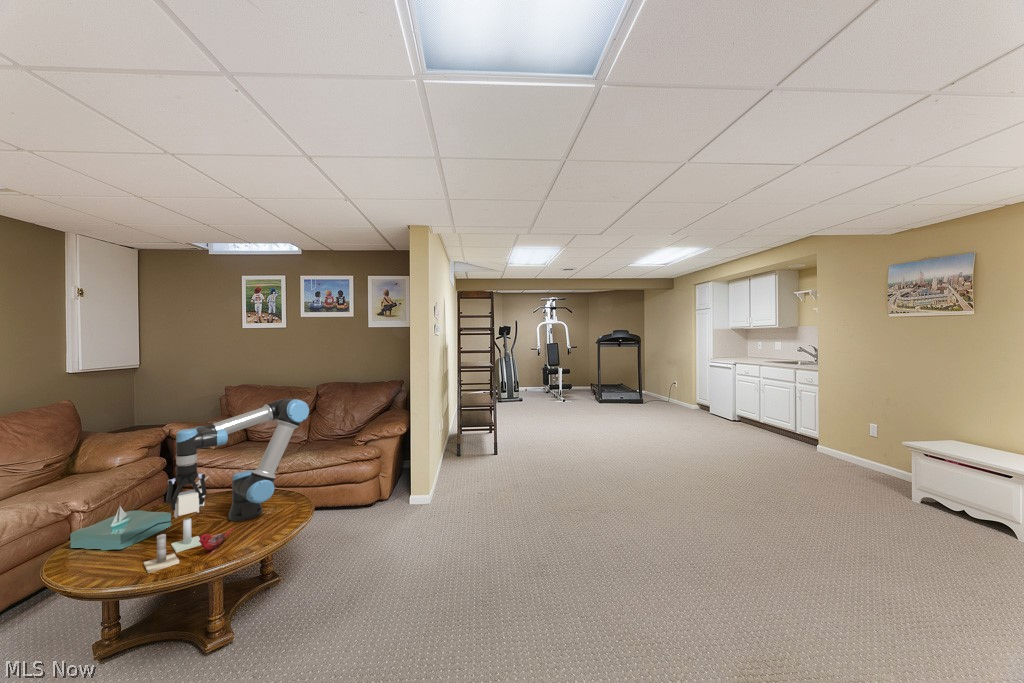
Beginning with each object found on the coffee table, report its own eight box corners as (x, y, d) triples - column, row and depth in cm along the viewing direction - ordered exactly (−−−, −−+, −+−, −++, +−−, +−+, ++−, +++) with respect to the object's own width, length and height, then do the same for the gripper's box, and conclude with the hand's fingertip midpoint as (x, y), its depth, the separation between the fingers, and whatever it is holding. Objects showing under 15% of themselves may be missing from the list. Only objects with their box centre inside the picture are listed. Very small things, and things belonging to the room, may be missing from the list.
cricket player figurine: (186, 505, 240) (186, 478, 240) (208, 500, 247) (208, 475, 247) (188, 512, 231) (187, 484, 231) (211, 507, 237) (211, 480, 237)
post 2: (171, 546, 192) (171, 519, 192) (198, 538, 200) (197, 512, 200) (176, 553, 186) (175, 525, 186) (203, 545, 193) (203, 518, 193)
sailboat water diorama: (120, 551, 188) (120, 515, 188) (70, 549, 191) (70, 513, 191) (171, 527, 213) (170, 494, 213) (126, 525, 216) (126, 493, 216)
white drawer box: (194, 506, 198) (194, 487, 198) (198, 511, 193) (198, 491, 193) (175, 511, 192) (175, 491, 192) (178, 515, 188) (178, 495, 188)
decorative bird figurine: (195, 560, 180) (195, 536, 180) (231, 540, 197) (231, 519, 197) (201, 560, 179) (201, 537, 179) (237, 541, 196) (236, 519, 196)
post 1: (143, 564, 176) (143, 536, 176) (174, 555, 184) (173, 528, 184) (148, 573, 170) (147, 543, 169) (179, 563, 177) (179, 535, 177)
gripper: (210, 457, 203) (210, 505, 203) (156, 467, 188) (156, 519, 188) (215, 460, 198) (215, 509, 198) (159, 470, 183) (159, 523, 183)
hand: (186, 514), depth 193 cm, fingers closed on white drawer box, 7 cm apart
